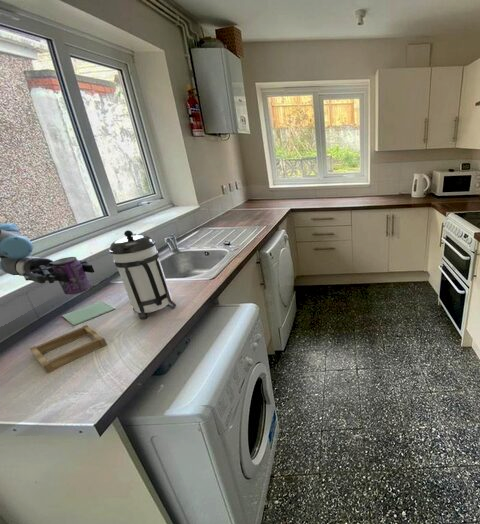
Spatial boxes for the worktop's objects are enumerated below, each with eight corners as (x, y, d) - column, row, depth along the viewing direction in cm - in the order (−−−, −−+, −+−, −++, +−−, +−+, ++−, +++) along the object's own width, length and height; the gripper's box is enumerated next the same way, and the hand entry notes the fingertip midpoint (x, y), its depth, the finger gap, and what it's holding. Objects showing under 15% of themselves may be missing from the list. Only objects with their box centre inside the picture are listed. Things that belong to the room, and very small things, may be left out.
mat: (62, 316, 104) (61, 315, 103) (102, 301, 113) (101, 300, 113) (73, 325, 97) (73, 325, 97) (114, 309, 107) (114, 308, 107)
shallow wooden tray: (33, 355, 84) (29, 348, 83) (89, 330, 94) (86, 324, 93) (47, 373, 77) (43, 366, 76) (107, 345, 87) (104, 338, 86)
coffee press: (117, 322, 98) (82, 239, 87) (149, 299, 113) (122, 225, 101) (166, 321, 97) (137, 237, 86) (192, 298, 112) (170, 223, 101)
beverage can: (64, 292, 101) (48, 261, 97) (89, 284, 106) (76, 254, 102) (67, 298, 97) (50, 266, 92) (93, 290, 102) (79, 259, 97)
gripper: (73, 266, 114) (113, 271, 107) (5, 289, 97) (49, 297, 90) (64, 248, 111) (106, 252, 105) (-6, 269, 94) (38, 275, 87)
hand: (79, 273), depth 97 cm, fingers closed on beverage can, 7 cm apart
